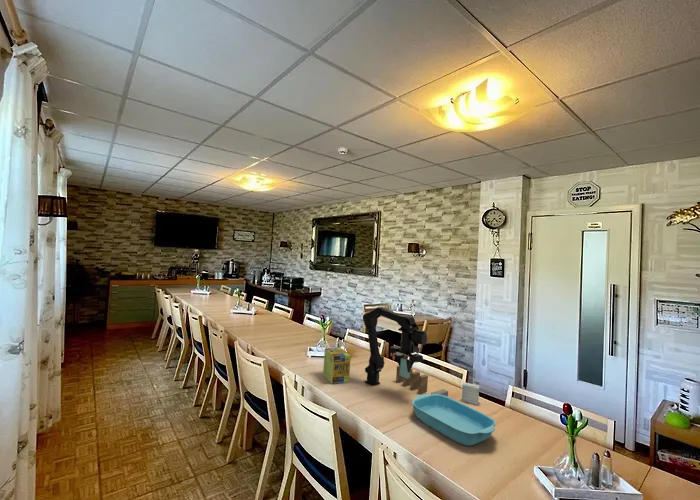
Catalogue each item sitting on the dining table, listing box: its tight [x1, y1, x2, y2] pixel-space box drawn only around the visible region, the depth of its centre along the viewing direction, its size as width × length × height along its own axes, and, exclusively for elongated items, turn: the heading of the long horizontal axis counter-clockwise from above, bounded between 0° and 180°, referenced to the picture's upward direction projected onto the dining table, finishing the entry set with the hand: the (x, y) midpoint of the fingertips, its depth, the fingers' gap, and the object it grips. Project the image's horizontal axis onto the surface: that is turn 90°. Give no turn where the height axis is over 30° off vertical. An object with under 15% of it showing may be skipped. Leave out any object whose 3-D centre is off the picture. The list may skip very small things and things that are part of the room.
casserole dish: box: [411, 393, 497, 447], centre depth 136 cm, size 37×22×7 cm, turn 35°
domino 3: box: [409, 370, 421, 391], centre depth 174 cm, size 2×5×9 cm, turn 126°
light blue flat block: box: [400, 357, 410, 378], centre depth 165 cm, size 2×5×9 cm, turn 36°
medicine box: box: [461, 381, 480, 406], centre depth 162 cm, size 8×4×9 cm, turn 65°
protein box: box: [322, 347, 352, 385], centre depth 182 cm, size 10×15×16 cm
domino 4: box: [417, 374, 429, 395], centre depth 170 cm, size 2×5×9 cm, turn 126°
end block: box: [430, 388, 449, 397], centre depth 161 cm, size 10×3×4 cm, turn 126°
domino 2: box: [402, 368, 414, 388], centre depth 179 cm, size 2×5×9 cm, turn 126°
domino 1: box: [395, 365, 403, 384], centre depth 183 cm, size 2×5×9 cm, turn 126°
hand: (404, 370), depth 165 cm, fingers closed on light blue flat block, 5 cm apart
